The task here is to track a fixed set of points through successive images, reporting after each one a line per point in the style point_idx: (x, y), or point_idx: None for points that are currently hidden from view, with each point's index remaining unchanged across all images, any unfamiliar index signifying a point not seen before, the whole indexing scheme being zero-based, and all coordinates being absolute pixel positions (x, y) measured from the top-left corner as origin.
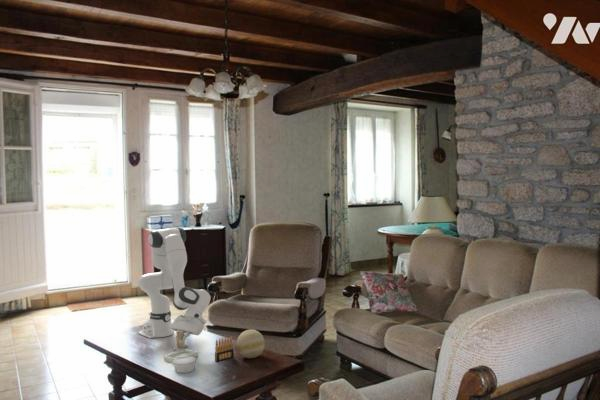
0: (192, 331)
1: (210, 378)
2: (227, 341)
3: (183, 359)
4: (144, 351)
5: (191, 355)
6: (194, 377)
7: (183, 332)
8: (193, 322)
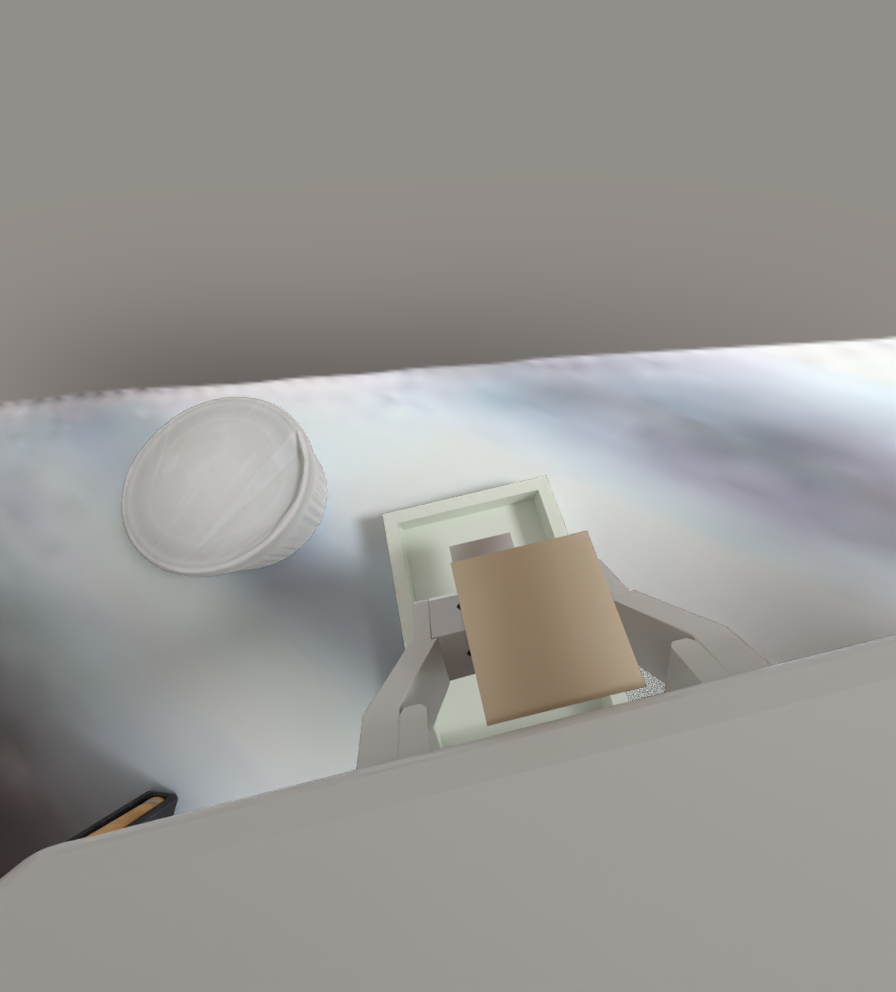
0: (130, 832)
1: (9, 540)
2: None
3: (227, 473)
4: (869, 482)
5: None
6: (117, 480)
7: (476, 675)
8: None
